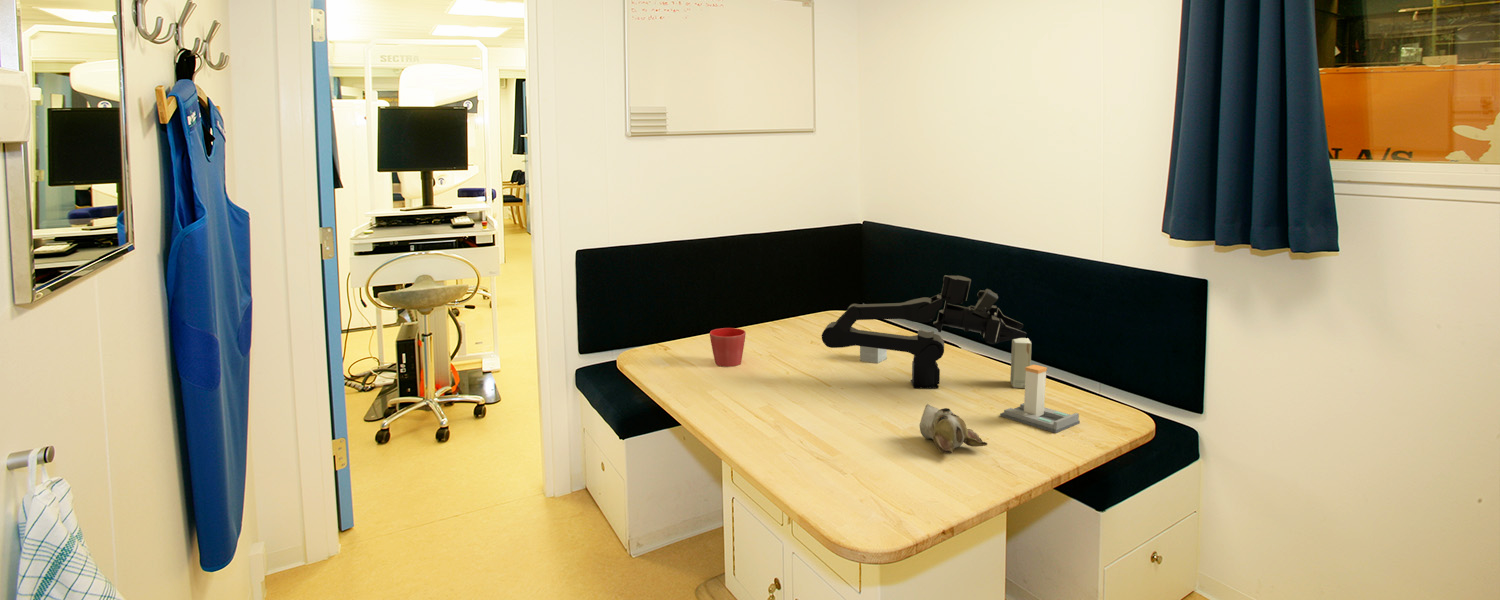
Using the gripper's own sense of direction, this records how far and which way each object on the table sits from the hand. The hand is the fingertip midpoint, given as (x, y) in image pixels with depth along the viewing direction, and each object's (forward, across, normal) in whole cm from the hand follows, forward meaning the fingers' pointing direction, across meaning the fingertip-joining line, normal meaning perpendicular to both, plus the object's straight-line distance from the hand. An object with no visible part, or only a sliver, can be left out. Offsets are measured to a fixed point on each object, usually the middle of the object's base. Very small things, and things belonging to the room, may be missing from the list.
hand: (1024, 330), depth 205 cm
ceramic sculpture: (-15, -42, +19) cm, 48 cm away
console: (+5, -22, +15) cm, 27 cm away
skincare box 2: (+3, +5, +16) cm, 17 cm away
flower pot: (-78, +11, +31) cm, 84 cm away
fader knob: (+4, -21, +16) cm, 26 cm away
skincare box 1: (-37, +22, +23) cm, 49 cm away
